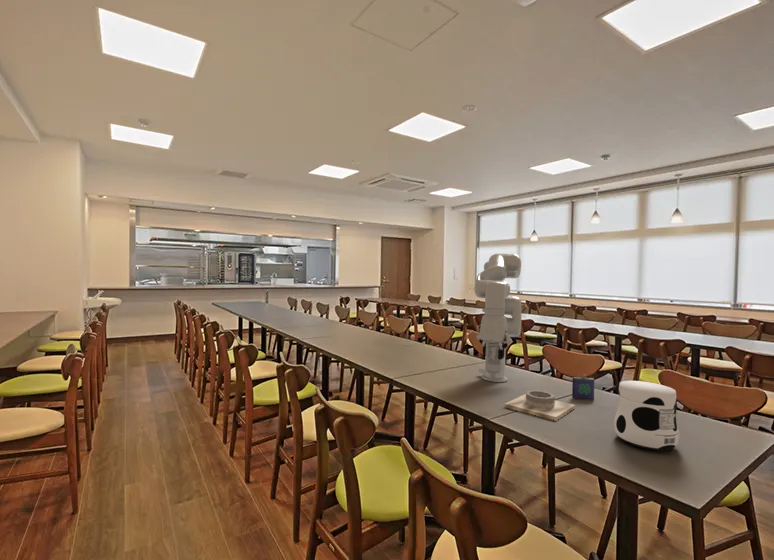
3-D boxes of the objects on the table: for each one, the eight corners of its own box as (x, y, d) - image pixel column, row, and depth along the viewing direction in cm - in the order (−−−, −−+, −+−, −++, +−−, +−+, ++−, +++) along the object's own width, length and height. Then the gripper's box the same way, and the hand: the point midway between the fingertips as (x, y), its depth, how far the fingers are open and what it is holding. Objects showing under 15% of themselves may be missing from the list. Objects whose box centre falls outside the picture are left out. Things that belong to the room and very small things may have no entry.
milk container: (618, 428, 137) (620, 376, 137) (680, 442, 126) (682, 386, 126) (608, 443, 124) (610, 387, 124) (676, 461, 113) (679, 399, 113)
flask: (592, 398, 172) (593, 373, 171) (595, 400, 169) (596, 375, 168) (570, 397, 172) (571, 373, 172) (573, 399, 169) (574, 374, 169)
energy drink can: (500, 370, 159) (501, 333, 158) (500, 374, 153) (502, 336, 153) (485, 369, 161) (486, 332, 160) (484, 373, 155) (486, 335, 154)
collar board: (504, 407, 156) (505, 393, 156) (526, 397, 170) (526, 384, 170) (556, 421, 142) (556, 406, 142) (574, 408, 157) (575, 395, 157)
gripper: (470, 311, 159) (469, 355, 160) (510, 315, 147) (509, 363, 148) (480, 310, 165) (478, 352, 165) (519, 314, 153) (518, 360, 153)
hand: (493, 357), depth 157 cm, fingers closed on energy drink can, 5 cm apart
